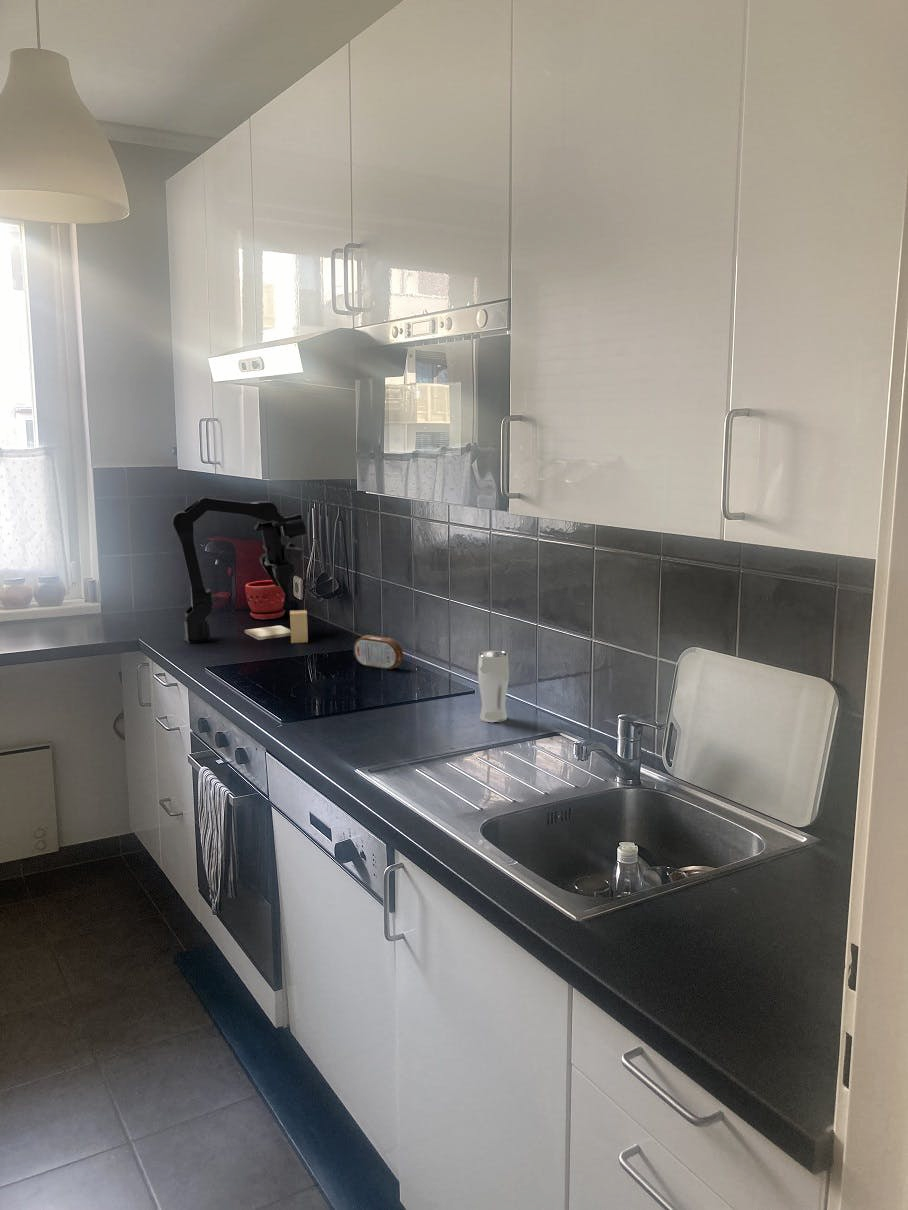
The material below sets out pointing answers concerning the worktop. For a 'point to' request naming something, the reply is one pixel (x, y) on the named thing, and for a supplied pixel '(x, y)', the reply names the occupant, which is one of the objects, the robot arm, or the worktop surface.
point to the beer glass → (493, 684)
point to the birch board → (269, 632)
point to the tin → (378, 652)
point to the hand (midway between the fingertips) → (281, 589)
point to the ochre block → (298, 626)
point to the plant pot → (265, 599)
